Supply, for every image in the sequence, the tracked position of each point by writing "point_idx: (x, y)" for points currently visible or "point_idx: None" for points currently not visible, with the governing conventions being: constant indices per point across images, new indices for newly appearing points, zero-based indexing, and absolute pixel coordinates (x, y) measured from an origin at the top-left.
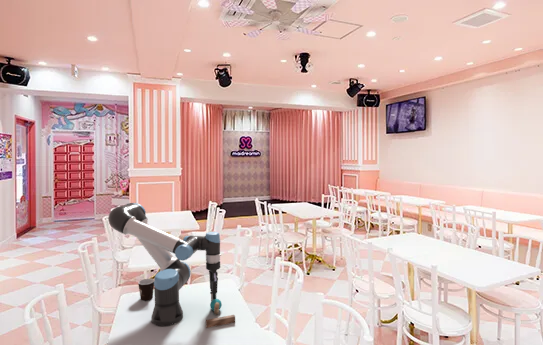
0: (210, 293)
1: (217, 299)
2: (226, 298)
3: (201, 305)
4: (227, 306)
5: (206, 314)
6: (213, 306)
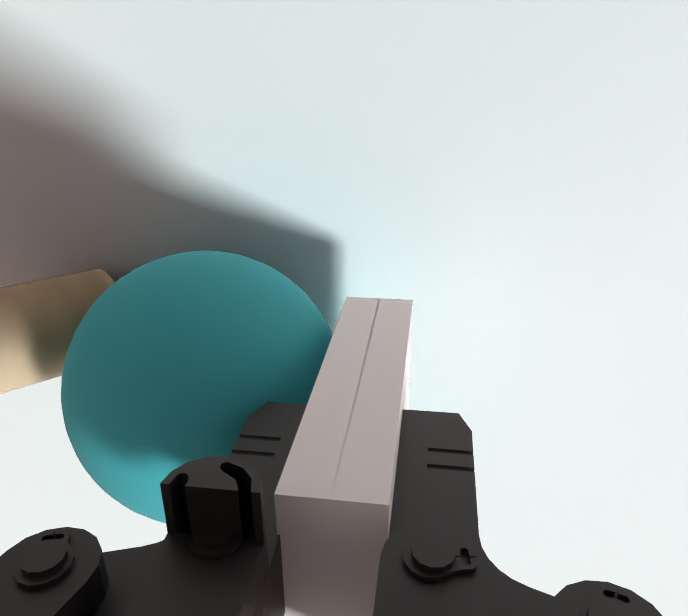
0: (193, 467)
1: (150, 501)
2: (648, 599)
3: (614, 72)
4: None
5: (133, 116)
6: (82, 319)
